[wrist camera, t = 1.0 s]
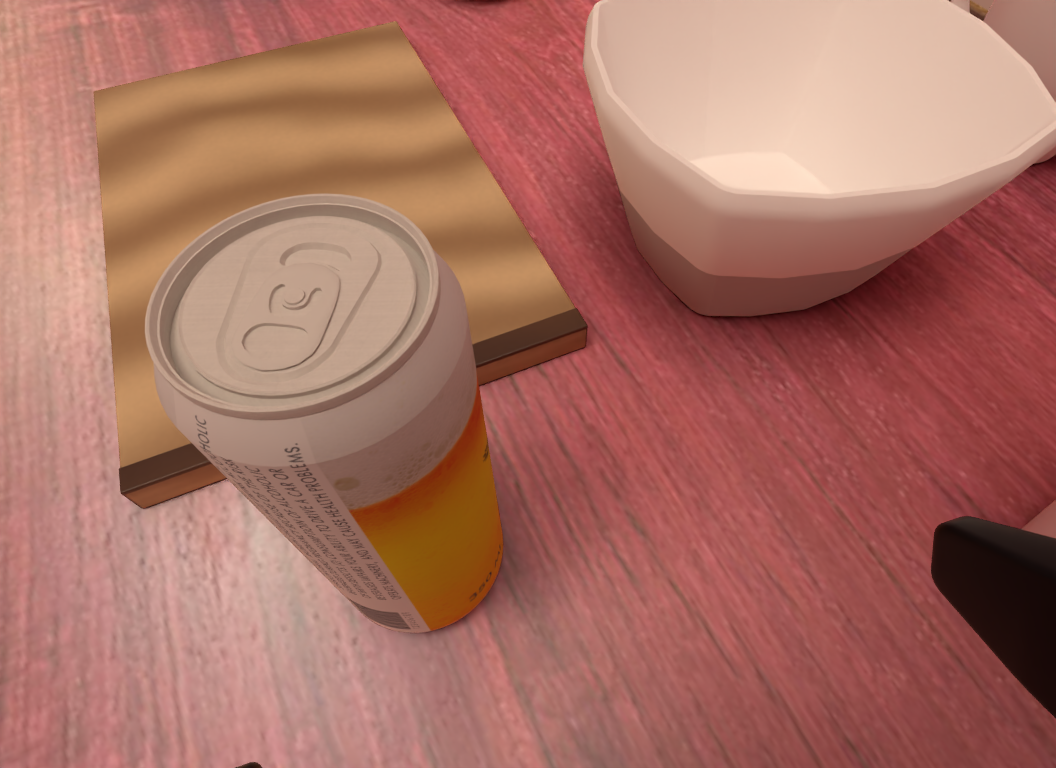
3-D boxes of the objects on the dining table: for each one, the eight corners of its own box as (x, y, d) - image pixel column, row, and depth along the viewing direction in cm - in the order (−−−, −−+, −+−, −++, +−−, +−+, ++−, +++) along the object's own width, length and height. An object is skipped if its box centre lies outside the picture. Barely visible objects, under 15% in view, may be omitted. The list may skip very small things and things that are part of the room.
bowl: (651, 404, 27) (694, 248, 20) (538, 160, 37) (536, -11, 29) (998, 315, 30) (1161, 142, 22) (807, 107, 39) (873, -65, 31)
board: (586, 346, 29) (588, 325, 28) (142, 509, 25) (119, 493, 24) (400, 42, 45) (396, 18, 43) (106, 112, 41) (91, 89, 39)
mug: (1124, 155, 36) (1347, -92, 26) (1022, 208, 34) (1223, -40, 24) (956, 61, 42) (1086, -170, 32) (859, 101, 39) (966, -135, 29)
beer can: (515, 491, 25) (487, 191, 13) (488, 650, 22) (414, 455, 9) (371, 472, 26) (210, 169, 13) (324, 624, 23) (48, 410, 10)
